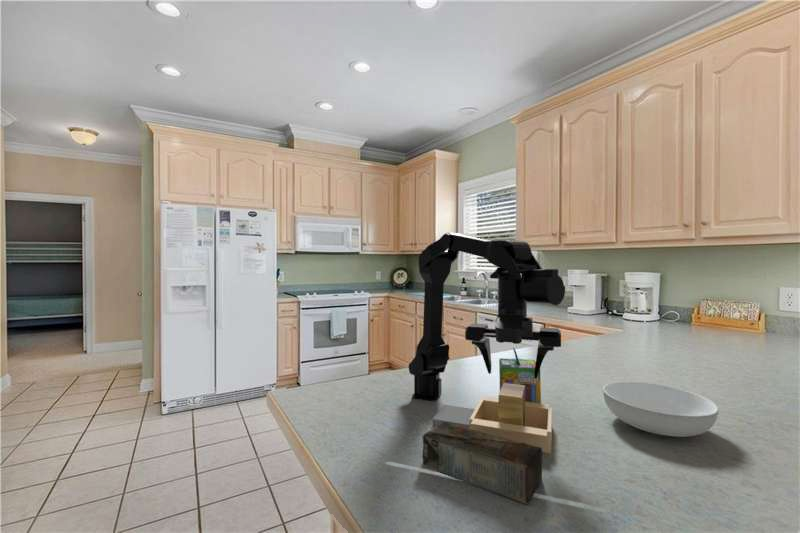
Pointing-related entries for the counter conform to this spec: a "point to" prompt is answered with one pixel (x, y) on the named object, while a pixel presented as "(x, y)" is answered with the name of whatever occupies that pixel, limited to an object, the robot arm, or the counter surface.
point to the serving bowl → (660, 408)
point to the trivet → (454, 416)
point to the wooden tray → (532, 433)
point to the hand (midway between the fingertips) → (512, 375)
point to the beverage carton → (484, 460)
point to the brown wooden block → (512, 404)
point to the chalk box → (521, 376)
